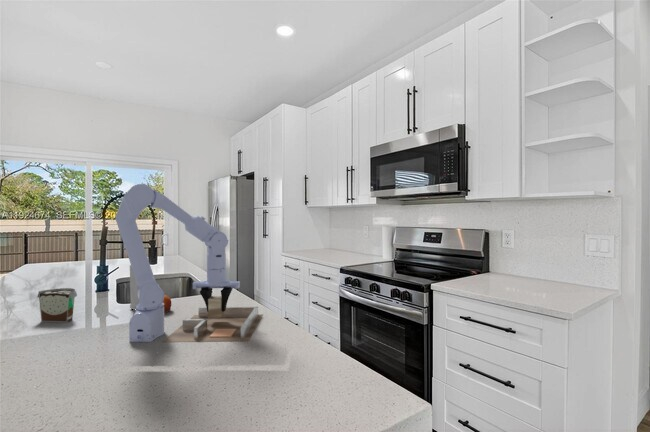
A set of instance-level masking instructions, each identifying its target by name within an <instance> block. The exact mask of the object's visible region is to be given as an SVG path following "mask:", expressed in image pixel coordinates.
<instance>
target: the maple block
mask: <svg viewBox="0 0 650 432" xmlns="http://www.w3.org/2000/svg"><path fill="white" fill-rule="evenodd" d="M224 314H225V311H224V312H222V297H221V295H212V297H210V298H209V299H208V318H222V316H223V315H224Z"/></svg>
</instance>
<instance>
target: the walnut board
mask: <svg viewBox="0 0 650 432" xmlns="http://www.w3.org/2000/svg"><path fill="white" fill-rule="evenodd" d="M263 316H264V314H258V317H257V318H256V320H255V322H254V323H253V325H252V327H251V328H250V330H249V332H248V333H247V335H246V337H245V338H244V339H241V327H242V325H243V324H244V322H245V321H246V320H247V318H248V317H249V316H235V317H222V318H208V317H198V314H194V315H193V316H192V317H190V318H189V319H207V330H206V331H205V332H204V333H203V334H202V335H201V336H200V337H199V338H198V339H194V330H183V324H181V326H180V327H178V328H177V329H175V330H174V331H173V332H171V334H170V335H168V336H167V337H165V339H163V340H162V341H161V343H206V342H207V343H208V342H209V343H210V342H211V343H214V342H215V343H218V342H220V343H221V342H226V343H228V342H230V343H232V342H238V343H239V342H249V341H250V338H252V335H253V333H254V332H255V330H256V328H257V326H258V324H260V321H261V319H262V317H263ZM216 329H236V331H235V332H234V334H233V335H232V337H210V335H211V334H212V333H213V332H214V331H215V330H216Z"/></svg>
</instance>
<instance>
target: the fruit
mask: <svg viewBox="0 0 650 432" xmlns="http://www.w3.org/2000/svg"><path fill="white" fill-rule="evenodd" d="M163 303H164V315H165V314H167V313H169V312H170V311H171V308H172V299H171V297H170V296H169V295H167V294H164V300H163Z"/></svg>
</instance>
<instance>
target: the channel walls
mask: <svg viewBox="0 0 650 432" xmlns="http://www.w3.org/2000/svg"><path fill="white" fill-rule="evenodd" d="M197 315H198V317H208V312H207V307H206V306H199V307H198V314H197ZM258 315H259V306H226V310H225V314H224V315H223V316H222V317H235V316H249V317H248V318H247V320H246V321H245V322H244V324H243V325H242V327H241V339H244V338H245V337H246V335H247V333H248V332H249V330H250V328H251V327H252V325H253V323H254V322H255V320H256V318H257V317H258ZM182 325H183V330H194V339H198V338H199V337H200V336H201V335H202V334H203V333H204V332H205V331H206V330H207V319H190V318H186V319H185V318H184V319H182Z"/></svg>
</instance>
